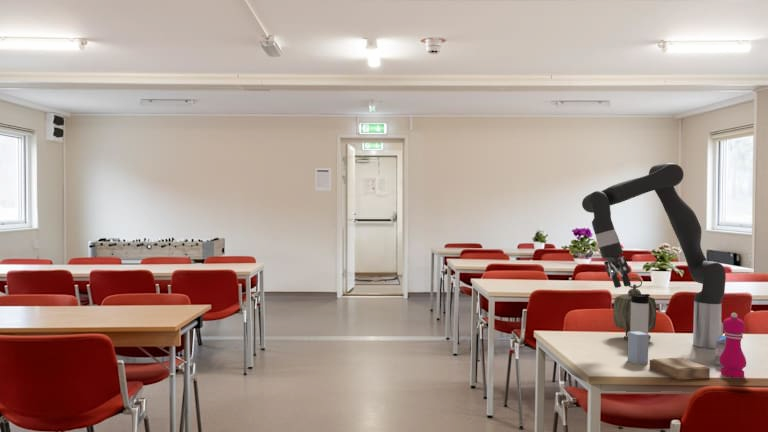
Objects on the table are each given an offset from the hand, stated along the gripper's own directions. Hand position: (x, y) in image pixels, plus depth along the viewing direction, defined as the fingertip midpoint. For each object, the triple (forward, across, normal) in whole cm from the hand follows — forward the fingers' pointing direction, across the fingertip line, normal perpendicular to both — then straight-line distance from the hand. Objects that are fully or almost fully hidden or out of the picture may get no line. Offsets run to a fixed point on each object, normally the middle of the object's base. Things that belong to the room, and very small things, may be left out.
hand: (622, 286), depth 200 cm
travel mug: (+24, +17, -6) cm, 30 cm away
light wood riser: (+30, -20, 0) cm, 35 cm away
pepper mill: (+34, -20, -16) cm, 43 cm away
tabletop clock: (+23, +29, -9) cm, 38 cm away
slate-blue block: (+25, -7, +6) cm, 27 cm away
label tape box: (+33, -6, -22) cm, 41 cm away
